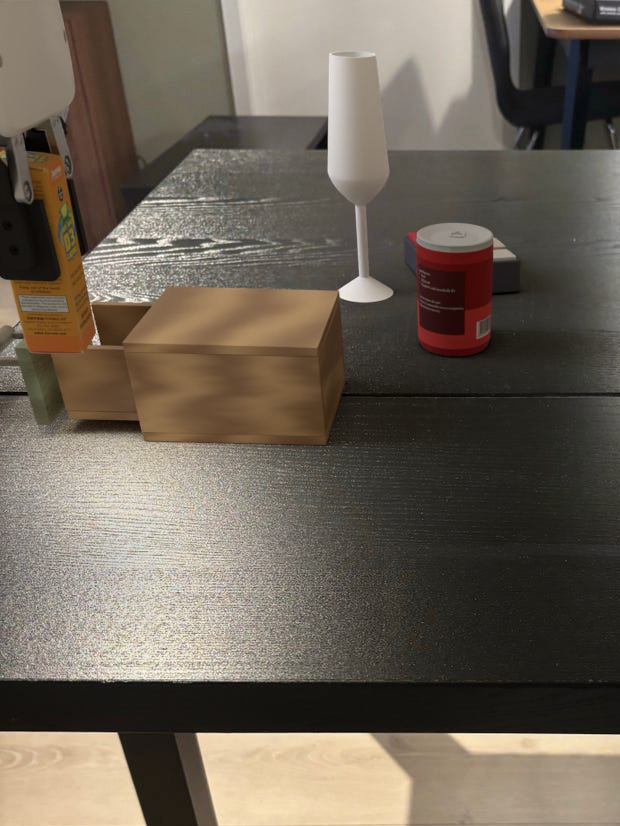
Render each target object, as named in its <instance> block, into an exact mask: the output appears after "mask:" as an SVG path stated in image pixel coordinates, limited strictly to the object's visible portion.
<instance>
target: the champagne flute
mask: <svg viewBox="0 0 620 826" xmlns="http://www.w3.org/2000/svg"><path fill="white" fill-rule="evenodd" d="M379 80H380V78H379V70H378V62H377V54H376V53H374V52H371V51H364V50H363V51H362V50H361V51H360V50H339V51H332V52H330V53H329V54H328V101H327V102H328V103H327V104H328V107H327V109H328V110H327V111H328V112H327V117H328V118H327V175H328V178H329V179H330V181H331V183H332V185H333V186H334V187H335V188H336V190H337V191H338V192H339V193H340V194H341V195H342V196H343V197H344V198H345V199H346V200H347V201H348V202H350V203H352V204H353V205H354V210H355V223H356V224H355V225H356V244H357V263H358V276H357V277H355V278H354V279H352V280H351V281H349V282H348V283H346V284H345V285H343V286H342V287H340V288H339V289H337V291H339V294H340V299H341V300H344V301H348V302H354V303H376V302H382V301H385V300H388V299H389V298H392V296H393V295H394V290H393V289H392V288H391V287H389V286H387V285H386V284H384V283H382V282H381V281H379V280H377V279H375V278H374V277H372V276H370V264H369V247H368V246H369V244H368V243H369V242H368V241H369V240H368V223H367V204H369V203H371V202H372V201H373V200H374V199H375V198H376V196H378V194H380V192H381V191H382V190H383V189H384V187H385V185H386V184H387V182H388V179H389V177H390V164H389V155H388V147H387V137H386V130H385V129H386V128H385V121H384V114H383V113H384V112H383V105H382V97H381V87H380V86H381V85H380V81H379Z"/></svg>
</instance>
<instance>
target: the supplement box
mask: <svg viewBox="0 0 620 826" xmlns="http://www.w3.org/2000/svg"><path fill="white" fill-rule="evenodd" d="M26 154H27V160H28V165H29V170H30V175H31V181H32V186H33V192H34V199H36V200H43V201H44V205H45V209H46V213H47V217H48V222H49V226H50V230H51V234H52V238H53V242H54V246H55V250H56V254H57V258H58V263H59V267H60V271H61V275H60V277H59V278H58V279H57V280H56V281H53V282H47V281H22V280H9V282H10V286H11V287H10V288H11V290H12V294H13V298H14V303H15V307H16V311H17V315H18V319H19V324H20V326H21V331H23V335H24V339H25V342H26V346H27V349H28V350H29V351H30V352H31V353H41V354H83V353H84V352H85V351H86V349H87V347H88V346H89V344H90V342H91V341H92V342H93V339H94V337H96V334H97V329H96V324H95V319H94V315H93V311H92V307H91V300H90V294H89V289H88V285H87V279H86V275H85V274H86V273H85V269H84V264H83V260H82V259H83V258H82V256H81V253H80V248H79V243H78V238H77V232H76V226H75V221H74V216H73V212H72V207H71V202H70V196H69V191H68V186H67V181H66V179H67V177H66V175H65V170H64V164H63V159H62V157H61V156H59V155H55V154H50V153H43V152H32V151H26ZM0 158H1V159H2V160H3V162H4V163H5V164H6V165H7V160H6V154H5V149H4V150H1V151H0ZM7 167H8V165H7Z"/></svg>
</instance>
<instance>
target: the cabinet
mask: <svg viewBox="0 0 620 826" xmlns="http://www.w3.org/2000/svg"><path fill="white" fill-rule="evenodd" d="M153 303H154V304H153V305H152V307H151V308H150V309H149V310H148V312H147V313H146V314H145V315H144V316H143V318H142V319H141V320H140V321H139V323H138V324H137V325H136V326H135V328H134V329H133V330H132V331H131V332H130V334H129V335H128V336H127V337H126V339H125V340H124V341H123V342H122V344H123V349H124V354H125V358H126V363H127V367H128V372H129V376H130V381H131V385H132V390H133V394H134V399H135V403H136V408H137V412H138V417H139V426H140V430H141V434H142V439H143V441H144V442H180V443H181V442H182V443H218V444H219V443H220V444H221V443H224V444H257V445H259V444H262V445H265V444H266V445H299V446H301V445H302V446H327V444H328V440H329V437H330V434H331V430H332V427H333V424H334V421H335V417H336V414H337V411H338V407H339V404H340V400H341V398H342V393H343V390H344V387H345V383H346V380H347V379H346V366H345V353H344V339H343V338H344V337H343V325H342V312H341V311H342V310H341V298H340V294H339V291H338V290H329V289H328V290H324V289H323V290H322V289H288V288H287V289H285V288H284V289H283V288H252V287H251V288H250V287H249V288H247V287H246V288H245V287H209V286H174V285H171V286H170V285H168V286H167V287H166V288H165V290H164V291H163V292H162V293H161V294H160V296H159V297H158V298H157V299H156V300H155V302H153Z"/></svg>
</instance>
